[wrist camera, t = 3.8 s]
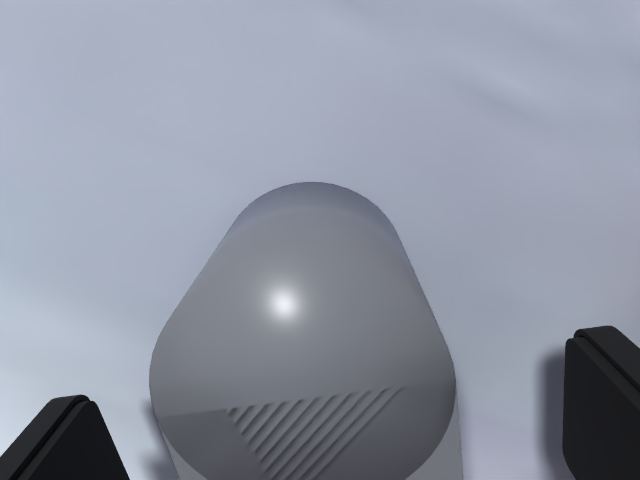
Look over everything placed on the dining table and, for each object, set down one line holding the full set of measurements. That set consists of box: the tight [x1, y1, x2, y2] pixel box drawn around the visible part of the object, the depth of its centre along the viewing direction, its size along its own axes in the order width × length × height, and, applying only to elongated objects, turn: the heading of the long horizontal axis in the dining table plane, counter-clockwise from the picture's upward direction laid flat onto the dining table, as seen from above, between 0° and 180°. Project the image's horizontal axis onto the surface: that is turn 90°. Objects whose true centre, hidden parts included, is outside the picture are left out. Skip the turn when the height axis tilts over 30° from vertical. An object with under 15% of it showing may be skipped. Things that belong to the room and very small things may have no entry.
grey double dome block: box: [149, 182, 463, 480], centre depth 9 cm, size 4×11×4 cm, turn 10°
